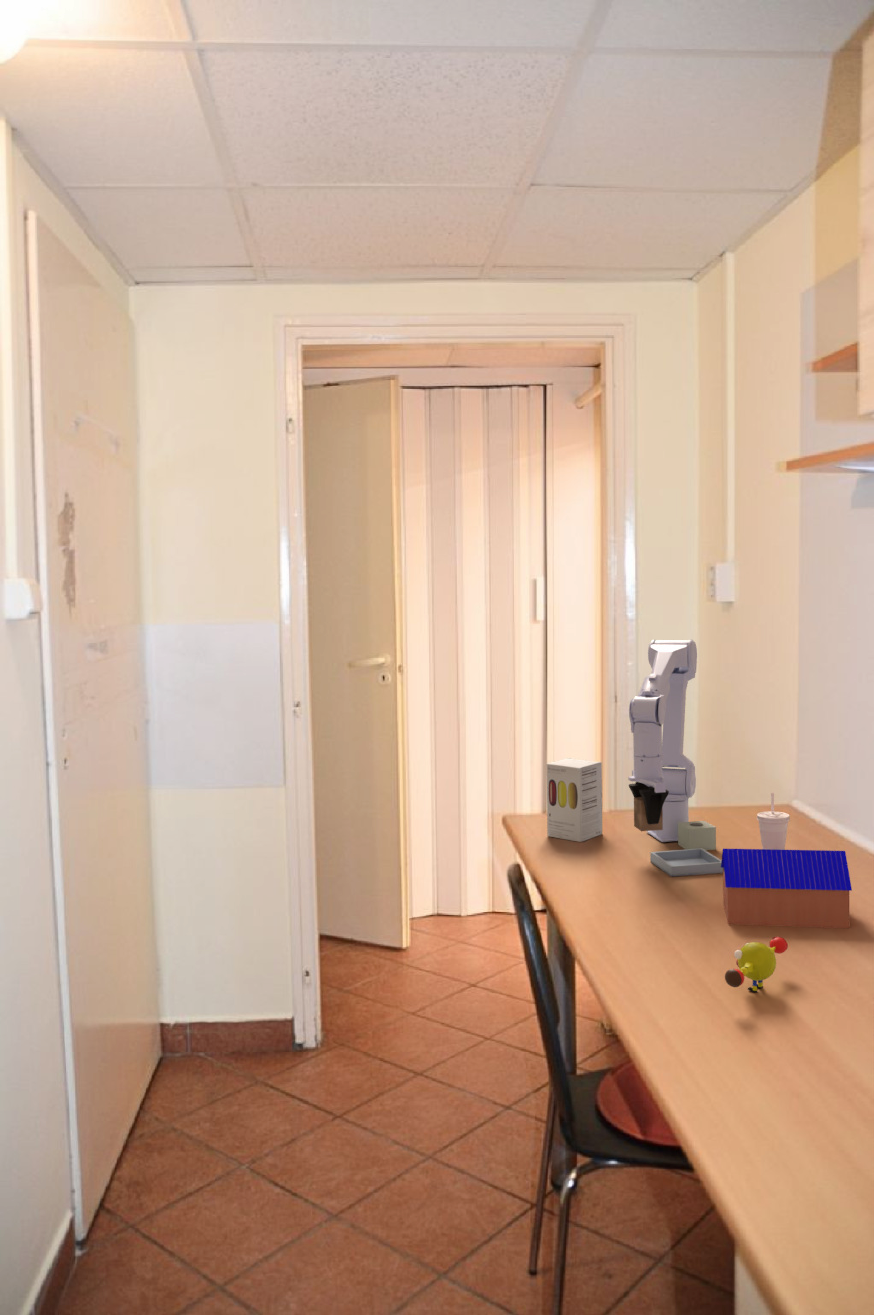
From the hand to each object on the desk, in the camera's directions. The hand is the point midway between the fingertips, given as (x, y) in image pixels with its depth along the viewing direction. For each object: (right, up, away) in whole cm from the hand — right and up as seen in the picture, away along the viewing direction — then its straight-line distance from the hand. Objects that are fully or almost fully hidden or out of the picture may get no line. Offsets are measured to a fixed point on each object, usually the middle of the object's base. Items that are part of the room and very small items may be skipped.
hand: (648, 820), depth 218 cm
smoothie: (+25, -8, -3) cm, 26 cm away
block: (0, -2, 0) cm, 2 cm away
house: (+16, -11, -35) cm, 40 cm away
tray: (+7, -9, -4) cm, 12 cm away
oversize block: (+12, -7, +11) cm, 18 cm away
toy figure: (+2, -14, -67) cm, 68 cm away
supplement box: (-12, -7, +24) cm, 28 cm away
